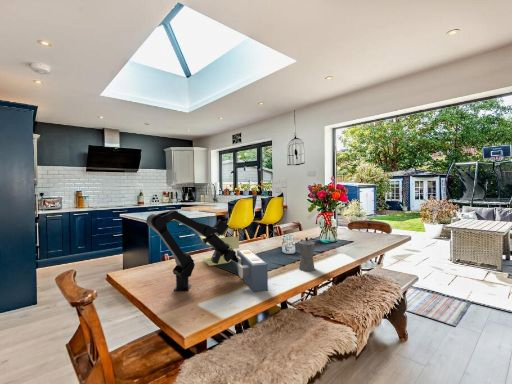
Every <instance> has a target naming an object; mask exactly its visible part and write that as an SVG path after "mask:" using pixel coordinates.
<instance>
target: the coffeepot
mask: <svg viewBox="0 0 512 384" xmlns="http://www.w3.org/2000/svg"><path fill="white" fill-rule="evenodd" d="M315 244H316V242H314V241H310V240H309V237H308V236H307V237H305V238H304V239H302V238H301V239H300V241H298V247H299V252H300V253H299V254H300V260H299V268H298V269H299V270H300V271H303V272H313V271H315V263H314V257H313V256H314V250H315Z"/></svg>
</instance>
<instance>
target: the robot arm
mask: <svg viewBox="0 0 512 384" xmlns="http://www.w3.org/2000/svg"><path fill="white" fill-rule="evenodd" d="M172 221H176V222H178V223H179V224H182V225H183V226H186V227H188V228H190V229H191V230H193V232H194V233H196V234H197V235H198V236H199V235H200V236H204V237H206V238H205V239H202V240H203V242H202V244H203V245H207V244H206V243H207V242H208V243H209V244H210V246H211V247H212V248H213V250H214V252H213V254H212V258H211V261H212V262H213V263H214V264H215V263H216V264H217V265H219V264H218V262H219V259H220V257H221V256H223V255H224V259H225V261H227V262H229V261H230V260H231V261H233V262H234V263H236V264H237V263H238V262H239V261H238V259H237V251H235V249H232V248H230V247H229V245H228V244H227V243H225V242H224V241H223V240H222V239H220V238H219V237H218V236H220V235H221V236H223V235H224V234H225V233H226V232H227V230H228V229H229V227H230V226H229V225H228V224H227V222H224V220H222V219H218V220H217V222H216V223H215V224H214V225H213V226H211V225H208V224H205V223H200V222H198V221H196V220H194V219H192V218H190V217H189V216H186V215H185V214H182V213H181V212H179V211H178V210H175V209H170V210H167V211H163V212H160V213H152V214H149V215H148V216H147V217H146V221H145V223H146V224H147V226H148V227H149V228H150V229H151V230H153V231H154V232H155V233H156V234H157V235H158V236H159V237H160V238H161V240H162V241H163V243H164V244H165V246H166V248H168V250H169V251H170V252H171V254H172V256H173V257H174V260H175V263H176V265H175V267H174V268H173V269H172V274H173V275H175V287H174V289H173V291H174V292H179V291H180V292H182V291H184V292H185V291H189V289H190V288H191V286H192V284H189V278H191V276H192V275H193V270H194V269H195V266H196V265H195V260H194V259H193V257H192V255H191V254H189V253H187V252H183V250H182V248H181V247H180V245H179V244H178V243H177V242H176V240H175V239H174V237H173V235H172V234H171V233H170V231H169V229H168V224H169V223H170V222H172ZM217 235H218V236H217ZM200 236H199V237H200ZM202 240H201V241H202ZM229 248H230V249H229ZM231 261H230V262H231ZM230 262H229V263H230Z"/></svg>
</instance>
